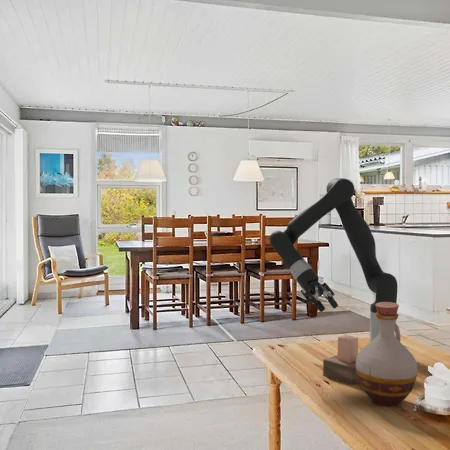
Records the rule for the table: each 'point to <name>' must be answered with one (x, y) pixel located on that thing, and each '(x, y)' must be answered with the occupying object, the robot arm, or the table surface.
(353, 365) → the walnut block
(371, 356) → the jug
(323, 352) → the table surface
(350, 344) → the terracotta block
